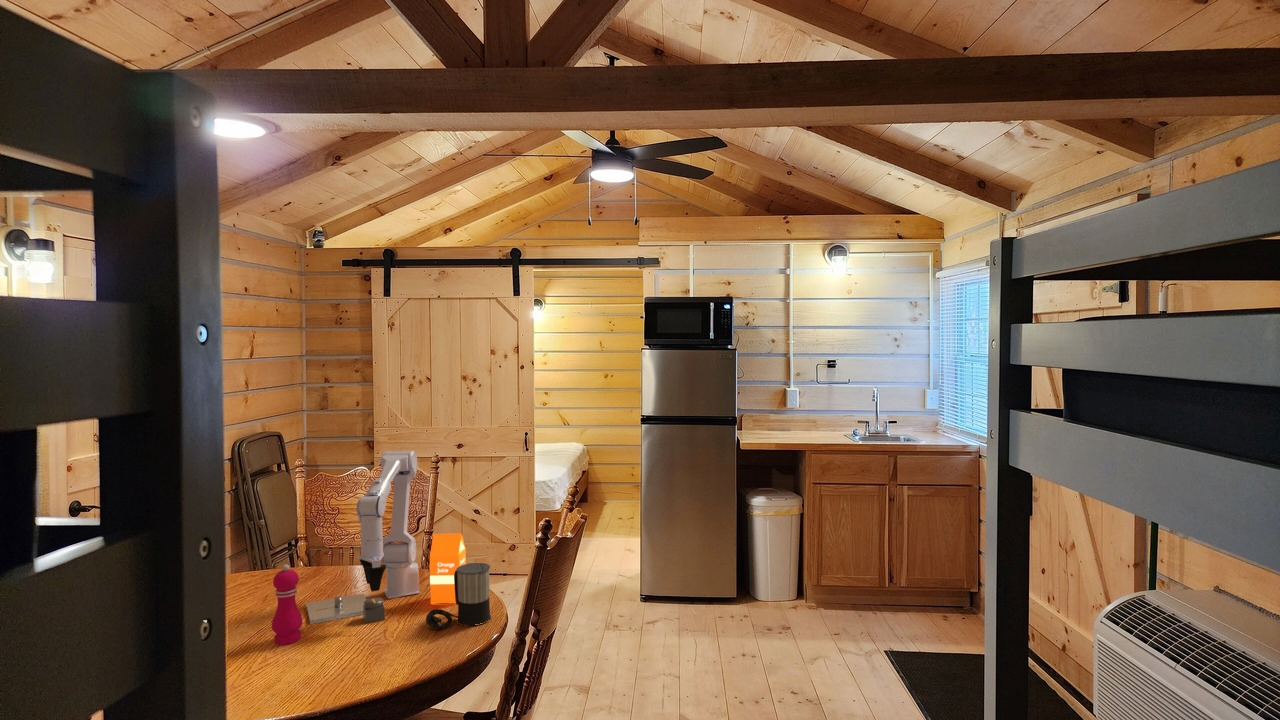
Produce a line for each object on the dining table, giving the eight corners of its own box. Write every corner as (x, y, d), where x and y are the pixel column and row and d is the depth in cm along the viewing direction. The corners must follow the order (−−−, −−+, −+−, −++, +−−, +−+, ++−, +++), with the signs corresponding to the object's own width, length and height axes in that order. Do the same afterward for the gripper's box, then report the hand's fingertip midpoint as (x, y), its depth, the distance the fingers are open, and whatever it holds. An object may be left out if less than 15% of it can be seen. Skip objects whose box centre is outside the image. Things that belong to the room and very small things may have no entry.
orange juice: (459, 604, 209) (458, 536, 209) (430, 604, 209) (428, 537, 209) (466, 594, 217) (465, 530, 217) (438, 595, 217) (436, 530, 217)
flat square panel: (363, 596, 218) (363, 585, 217) (371, 612, 204) (371, 600, 203) (306, 606, 210) (306, 594, 210) (310, 624, 196) (310, 611, 196)
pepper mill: (290, 647, 181) (288, 569, 180) (265, 645, 182) (263, 568, 182) (309, 635, 188) (306, 560, 188) (285, 634, 189) (283, 559, 189)
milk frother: (498, 617, 198) (497, 565, 198) (457, 638, 184) (455, 581, 184) (461, 609, 205) (460, 558, 205) (419, 628, 192) (417, 573, 191)
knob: (363, 617, 200) (362, 599, 200) (381, 613, 203) (381, 596, 202) (365, 623, 196) (365, 604, 196) (384, 619, 198) (384, 601, 198)
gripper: (353, 535, 203) (354, 582, 203) (360, 546, 191) (361, 596, 191) (379, 531, 207) (380, 577, 207) (387, 542, 194) (388, 592, 194)
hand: (373, 586), depth 199 cm, fingers open, 7 cm apart
